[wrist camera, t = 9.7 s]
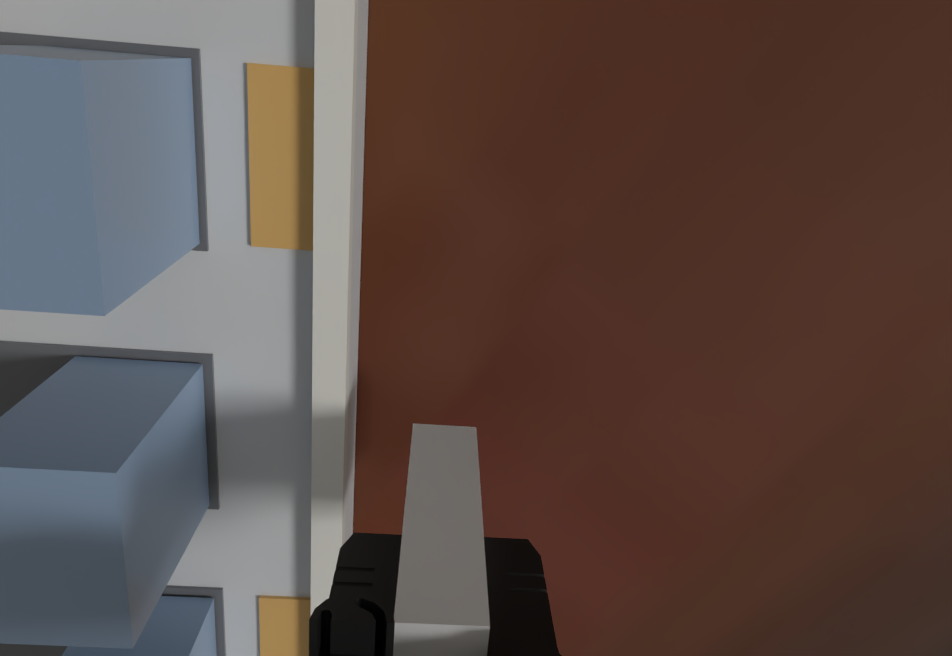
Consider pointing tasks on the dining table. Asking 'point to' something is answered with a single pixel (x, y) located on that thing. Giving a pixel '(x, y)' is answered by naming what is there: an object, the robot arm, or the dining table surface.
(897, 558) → the dining table surface
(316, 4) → the switch bank
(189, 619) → the tab
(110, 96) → the tab
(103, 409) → the tab
